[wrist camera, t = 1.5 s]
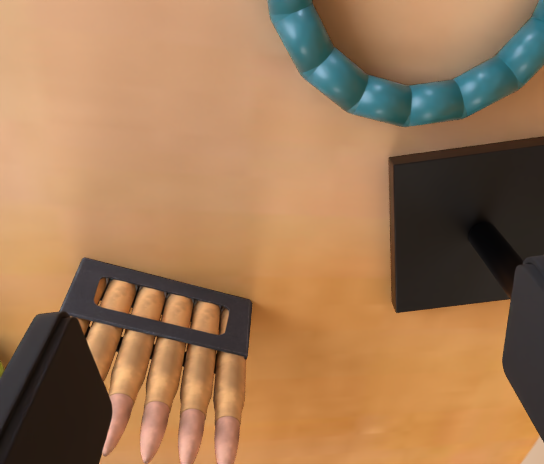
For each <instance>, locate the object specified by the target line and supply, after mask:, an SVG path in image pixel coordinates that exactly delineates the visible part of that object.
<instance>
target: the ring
mask: <svg viewBox="0 0 544 464" xmlns="http://www.w3.org/2000/svg"><path fill="white" fill-rule="evenodd" d="M268 8H269V15H270V19H271V21H272V23H273V25H274V27H275V29H276V31H277V33H278V34H279V36H280V38H281V40H282V42H283V44H284V46H285V47H286V49H287V51H288V53H289V55H290V57H291V58H292V60H293V62H294V64H295V66H296V68H297V70H298V71H299V73H300V74H301V76H302V77H303V78H304V79H305V80H307V81H308V82H309V83H311V84H312V85H313V86H314V87H316V88H317V89H318V90H319V91H321V92H322V93H323V94H324V95H326V96H327V97H328V98H329V99H331V100H332V101H333V102H334V103H336V104H337V105H338V106H340V107H341V108H342V109H343V110H345V111H346V112H348V113H351V114H354V115H358V116H362V117H366V118H369V119H373V120H377V121H381V122H385V123H389V124H393V125H396V126H401V127H409V126H417V125H424V124H431V123H439V122H446V121H453V120H460V119H464V118H466V117H468V116H470V115H472V114H474V113H476V112H477V111H479V110H481V109H483V108H485V107H487V106H489V105H491V104H493V103H495V102H497V101H498V100H500V99H502V98H504V97H506V96H508V95H510V94H512V93H514V92H516V91H517V90H519V89H520V88H522V87H523V86H524V85H525V84H526V83H527V82H528V81H529V80H530V79H531V78H532V77H533V76H534V75H535V74H536V73H537V72H538V71H539V70H540V69H541V67H542V66H543V65H544V0H539V1H538V3H537V5H536V8H535V10H534V12H533V14H532V16H531V18H530V19H529V20H528V21H527V22H526V23H525V24H524V25H523V26H522V27H521V29H520V30H519V31H518V32H517V33H516V34H515V35H514V36H513V37H512V38H511V39H510V40H509V41H508V43H507V44H506V45H505V46H504V47H503V48H502V49H501V50H500V51H499V52H498V53H497V54H496V55H495V56H494V57H492V58H491V59H489V60H487V61H485V62H483V63H481V64H480V65H478V66H476V67H474V68H472V69H470V70H469V71H467V72H465V73H463V74H461V75H459V76H458V77H456V78H454V79H452V80H445V81H438V82H430V83H423V84H416V85H409V86H408V85H404V84H401V83H397V82H393V81H390V80H386V79H382V78H379V77H375V76H372V75H368V74H366V73H365V72H364V71H363V70H362V69H360V68H359V67H358V66H357V65H356V64H354V63H353V62H352V61H351V60H350V59H348V58H347V57H346V56H345V55H344V54H342V53H341V52H340V51H339V50H338V49H336V48H335V47H334V46H333V44H332V42H331V40H330V37H329V35H328V33H327V31H326V29H325V27H324V25H323V23H322V21H321V19H320V17H319V15H318V13H317V11H316V9H315V7H314V5H313V3H312V0H268Z"/></svg>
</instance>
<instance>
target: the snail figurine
mask: <svg viewBox="0 0 544 464" xmlns="http://www.w3.org/2000/svg"><path fill="white" fill-rule="evenodd" d="M4 370H5V369H4V366H3V364H2V363H1V361H0V378H1V376H2V374H3V372H4Z"/></svg>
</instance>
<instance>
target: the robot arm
mask: <svg viewBox="0 0 544 464" xmlns="http://www.w3.org/2000/svg"><path fill="white" fill-rule="evenodd" d="M502 363H503V369H504V372H505V375H506V377H507V379H508V380H509V382H510V384H511V386H512V387H513V389H514V391H515V393H516V394H517V396H518V398H519V400H520V401H521V403H522V405H523V407H524V408H525V410H526V412H527V414H528V415H529V417H530V419H531V421H532V423H533V424H534V426H535V428H536V430H537V431H538V433H539V435H540V437H541V438H542V440H543V442H544V255H541V256H532V257H527V258H525V260H524V262H523V265H518V266H517V267H516V270H515V275H514V282H513V289H512V296H511V302H510V309H509V316H508V323H507V330H506V337H505V344H504V351H503V358H502ZM112 413H113V410H112V403H111V400H110V397H109V395H108V392H107V390H106V387H105V385H104V382H103V380H102V377H101V375H100V372H99V370H98V367H97V365H96V363H95V360H94V358H93V355H92V353H91V350H90V348H89V345H88V343H87V340H86V338H85V335H84V333H83V330H82V328H81V325H80V323H79V321H78V319H77V318H76V317H70V315H69V314H68V313H67V312H65V311H61V312H53V313H44V314H38V315H36V317H35V318H34V319H33V321H32V323H31V324H30V326H29V328H28V330H27V332H26V333H25V335H24V337H23V339H22V340H21V342H20V344H19V346H18V347H17V349H16V351H15V353H14V355H13V356H12V358H11V360H10V362H9V363H8V365H7V367H6V369H5V370H4V372H3V374H2V376H1V378H0V464H99V462H100V458H101V455H102V451H103V448H104V444H105V441H106V438H107V434H108V431H109V427H110V424H111V420H112Z"/></svg>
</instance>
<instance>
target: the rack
mask: <svg viewBox="0 0 544 464" xmlns="http://www.w3.org/2000/svg"><path fill="white" fill-rule="evenodd" d="M389 200H390V246H391V291H392V304H393V306H394V309H395V312H396V313H400V312H408V311H416V310H424V309H433V308H441V307H449V306H457V305H466V304H474V303H482V302H490V301H498V300H507V299H510V300H511V296H512V289H513V282H514V275H515V270H516V267H517V266H518V265H523V262H524V260H525V258H527V257H532V256H541V255H544V137H537V138H530V139H522V140H515V141H508V142H500V143H493V144H485V145H478V146H470V147H463V148H455V149H448V150H440V151H433V152H426V153H418V154H411V155H403V156H396V157H389Z"/></svg>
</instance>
